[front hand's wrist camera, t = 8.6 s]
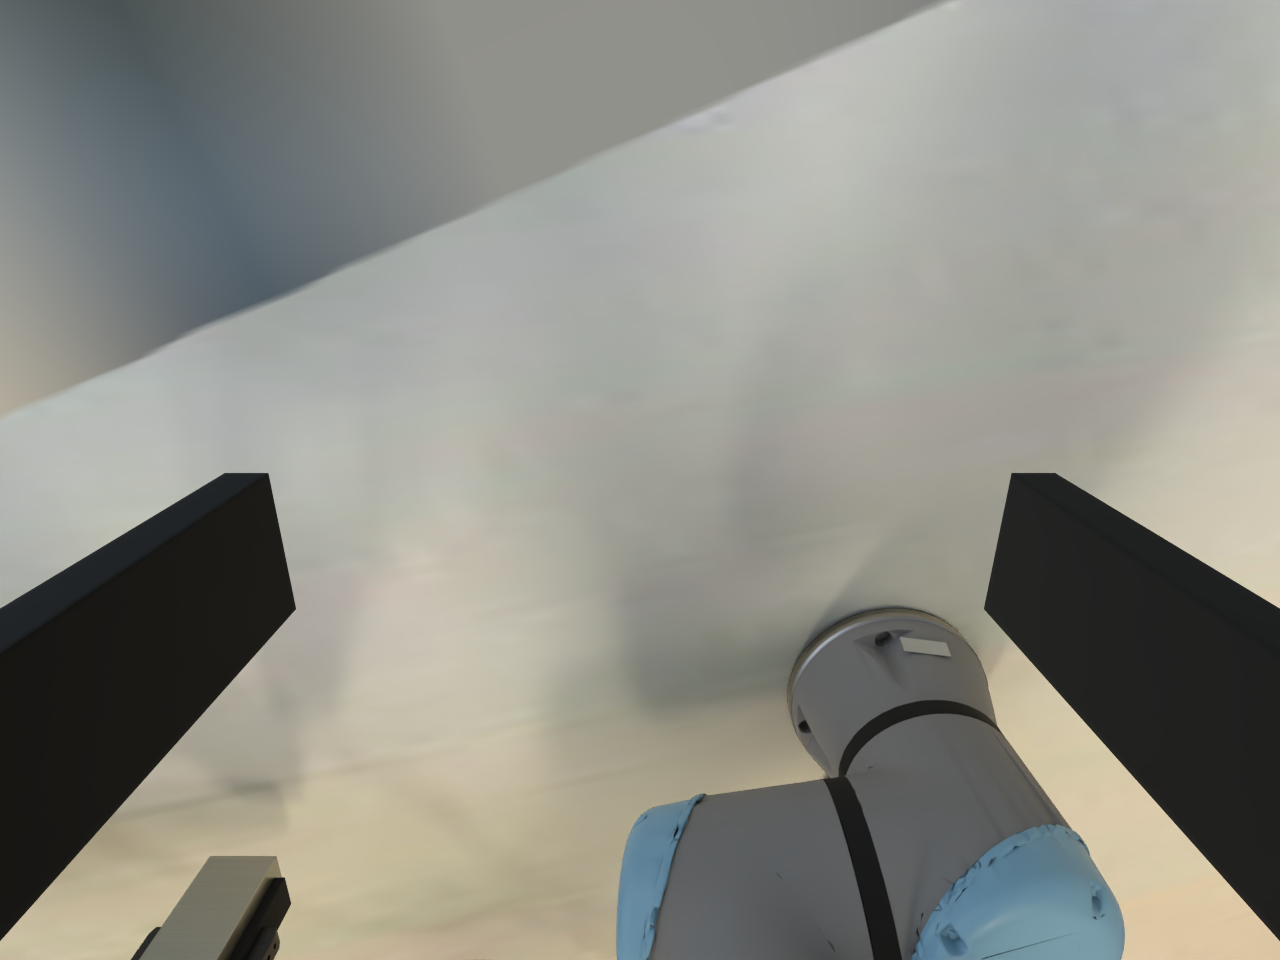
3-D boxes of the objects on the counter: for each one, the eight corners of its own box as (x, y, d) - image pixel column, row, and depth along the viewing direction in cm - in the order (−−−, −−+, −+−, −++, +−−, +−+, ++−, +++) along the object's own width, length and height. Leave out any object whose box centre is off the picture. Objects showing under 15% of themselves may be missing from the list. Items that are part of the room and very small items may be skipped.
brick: (276, 855, 51) (213, 965, 44) (289, 907, 53) (230, 1020, 45) (209, 855, 51) (134, 964, 44) (225, 906, 53) (155, 1020, 45)
